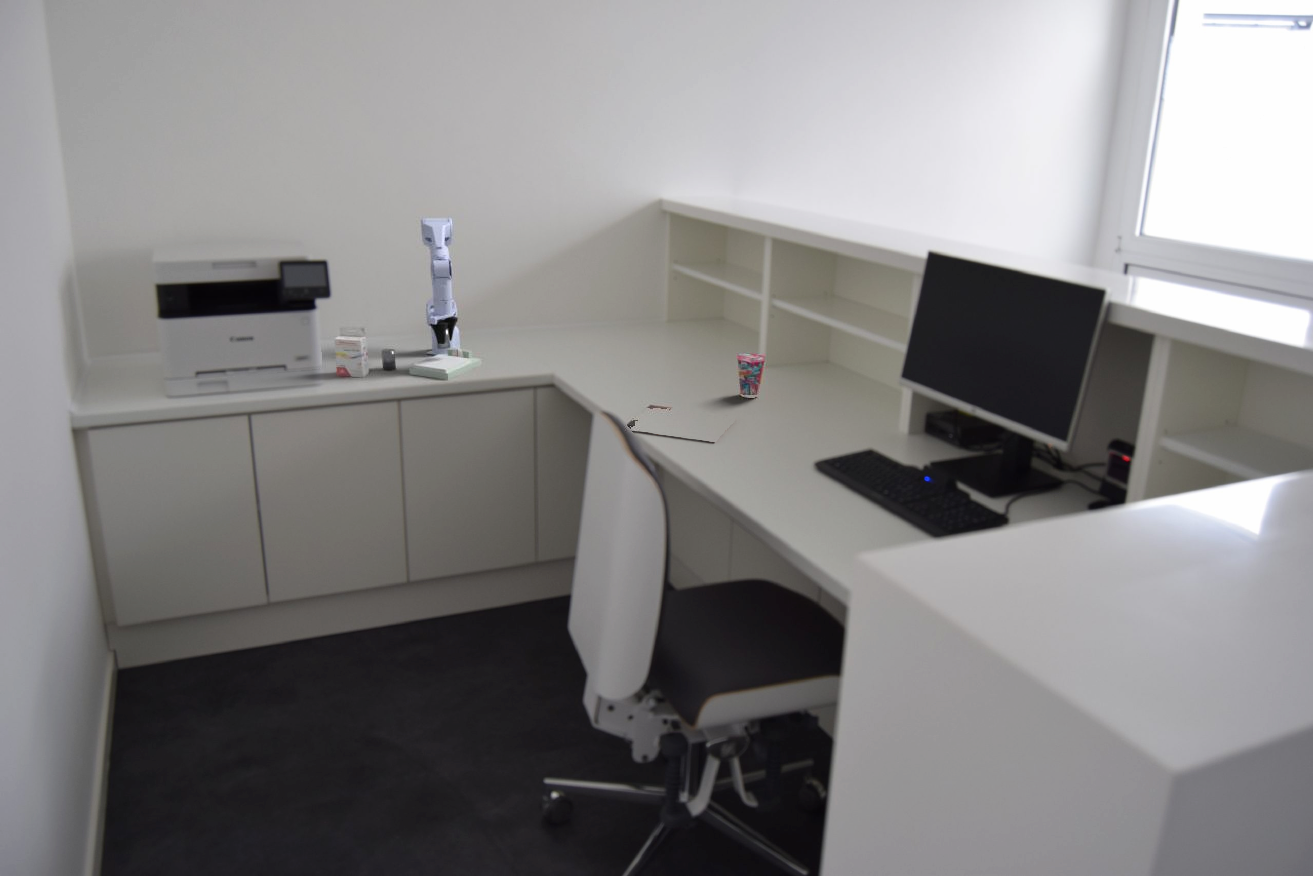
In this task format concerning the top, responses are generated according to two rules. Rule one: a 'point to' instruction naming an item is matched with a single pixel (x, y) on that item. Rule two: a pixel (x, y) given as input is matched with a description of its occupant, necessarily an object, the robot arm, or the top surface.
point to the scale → (446, 364)
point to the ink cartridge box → (351, 352)
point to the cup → (750, 372)
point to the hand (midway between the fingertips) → (444, 341)
